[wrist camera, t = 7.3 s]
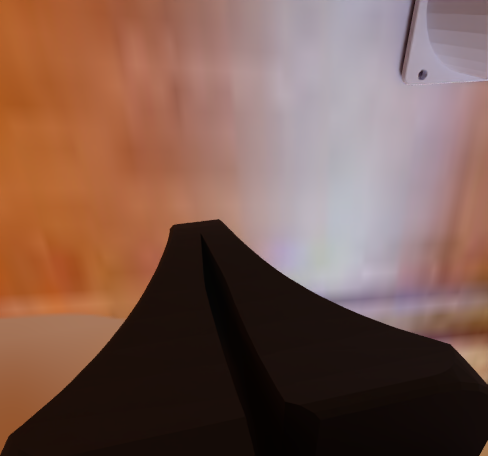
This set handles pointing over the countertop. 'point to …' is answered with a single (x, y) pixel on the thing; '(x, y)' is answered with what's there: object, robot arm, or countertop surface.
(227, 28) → the countertop surface
